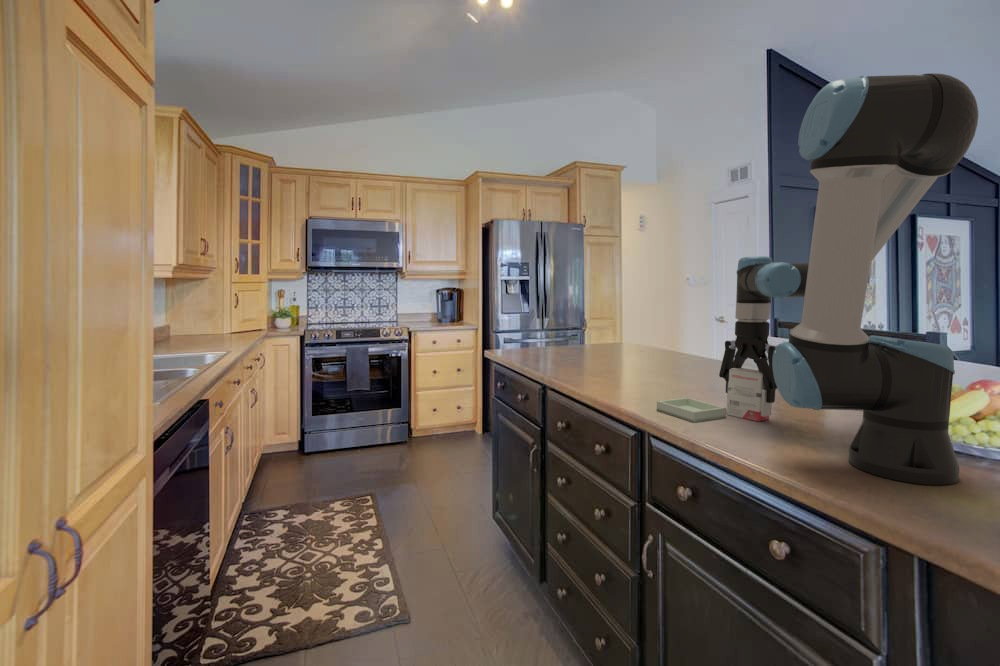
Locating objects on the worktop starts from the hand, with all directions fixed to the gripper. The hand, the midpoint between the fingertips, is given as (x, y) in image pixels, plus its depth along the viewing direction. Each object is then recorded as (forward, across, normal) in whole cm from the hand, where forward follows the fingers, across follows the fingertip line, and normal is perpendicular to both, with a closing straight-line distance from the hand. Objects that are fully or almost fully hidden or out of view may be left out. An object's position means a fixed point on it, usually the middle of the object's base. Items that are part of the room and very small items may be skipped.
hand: (748, 410), depth 122 cm
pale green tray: (+1, +8, +11) cm, 14 cm away
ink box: (+2, 0, 0) cm, 2 cm away
